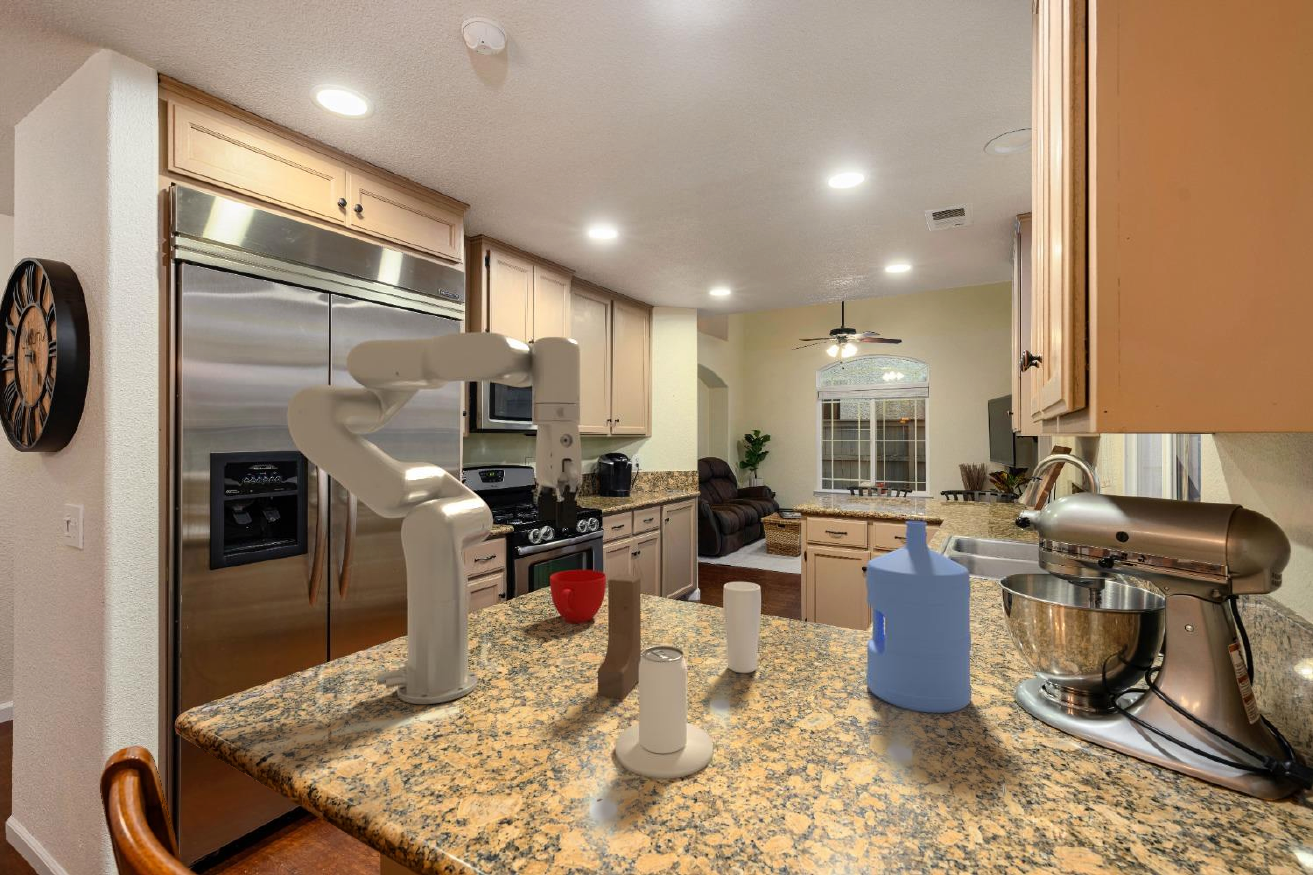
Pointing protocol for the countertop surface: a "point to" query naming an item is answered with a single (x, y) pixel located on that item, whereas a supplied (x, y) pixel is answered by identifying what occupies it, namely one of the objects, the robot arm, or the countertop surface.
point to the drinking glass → (742, 624)
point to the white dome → (668, 765)
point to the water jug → (919, 627)
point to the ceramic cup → (578, 594)
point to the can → (662, 700)
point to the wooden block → (622, 638)
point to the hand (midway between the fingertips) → (556, 523)
